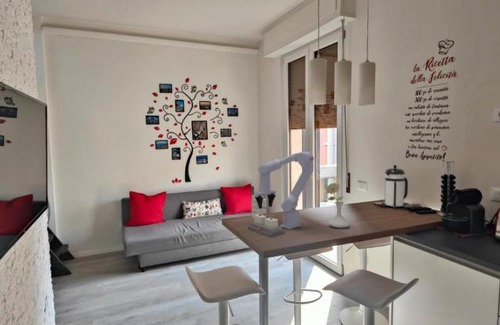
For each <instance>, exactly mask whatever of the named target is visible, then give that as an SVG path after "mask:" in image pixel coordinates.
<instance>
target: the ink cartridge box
mask: <svg viewBox="0 0 500 325" xmlns="http://www.w3.org/2000/svg"><path fill="white" fill-rule="evenodd" d="M261 197H263V202H262V209H260V208H259V207H258V203H257V201H256V199H255V194H252V195H251V218H252V219H254V215H258V214H262V215H264V216H266V218H268V216H267V215H268V213H267V212H268V210H267V208H268V207H267V204H268V202H267V198H265V196H261Z"/></svg>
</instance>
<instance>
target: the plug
mask: <svg viewBox="0 0 500 325" xmlns="http://www.w3.org/2000/svg"><path fill="white" fill-rule="evenodd" d="M266 218H267V217H266V216H264V215H262V214H258V215H254V218H253V222H254V223H255V224H258V225H264V224H265V219H266Z"/></svg>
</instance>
